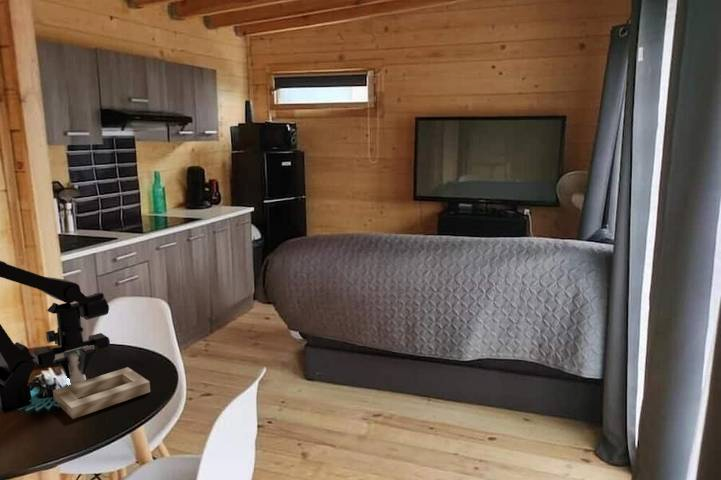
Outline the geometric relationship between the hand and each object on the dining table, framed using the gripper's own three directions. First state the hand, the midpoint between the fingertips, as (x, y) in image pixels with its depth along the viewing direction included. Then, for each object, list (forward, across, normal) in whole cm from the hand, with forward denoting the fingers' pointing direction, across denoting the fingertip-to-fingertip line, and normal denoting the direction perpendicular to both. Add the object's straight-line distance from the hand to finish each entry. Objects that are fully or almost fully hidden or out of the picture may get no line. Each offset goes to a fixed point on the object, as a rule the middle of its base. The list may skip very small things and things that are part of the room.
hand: (75, 376), depth 156 cm
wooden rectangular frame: (+2, -2, +14) cm, 14 cm away
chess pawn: (+2, 0, 0) cm, 2 cm away
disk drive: (+3, -4, -22) cm, 23 cm away
